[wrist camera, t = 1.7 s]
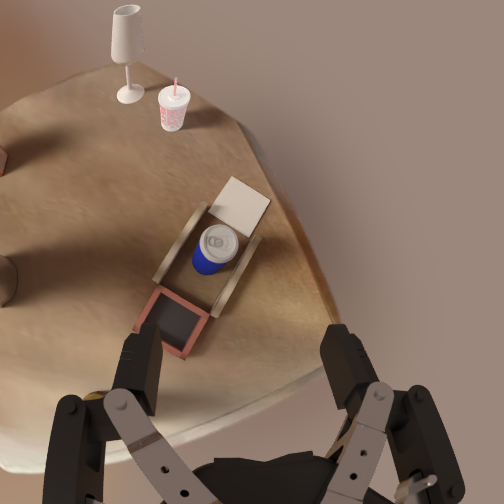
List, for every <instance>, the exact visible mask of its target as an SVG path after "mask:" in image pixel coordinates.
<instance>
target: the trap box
mask: <svg viewBox="0 0 504 504" xmlns="http://www.w3.org/2000/svg"><path fill="white" fill-rule="evenodd" d="M209 316H210V314H208V313H207V312H205V311H203V310H201V309H200V308H198V307H196V306H195V305H193V304H191V303H190V302H188V301H186V300H184V299H183V298H181V297H180V296H178V295H176V294H175V293H173V292H171V291H170V290H168V289H166V288H165V287H163V286H162V285H160V284H158V285H157V287H156V289H155V290H154V292H153V294H152V296H151V297H150V299H149V301H148V303H147V304H146V306H145V308H144V310H143V311H142V313H141V315H140V317H139V318H138V320H137V322H136V324H135V326H134V327H133V329H132V330H133V331H135V332H137V333H138V334H139V331H140V327H141V324H142V323H153V324H158V325H159V329H160V335H161V341H162V347H163V349H165V350H167V351H168V352H170V353H172V354H174V355H175V356H177V357H179V358H181V359H183V360H185V359H186V357H187V355H188V354H189V352H190V350H191V348H192V346H193V345H194V343H195V341H196V339H197V337H198V336H199V334H200V332H201V330H202V329H203V327H204V325H205V323H206V321H207V320H208V318H209Z"/></svg>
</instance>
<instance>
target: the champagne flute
mask: <svg viewBox="0 0 504 504" xmlns="http://www.w3.org/2000/svg"><path fill="white" fill-rule="evenodd" d="M143 53H144V43H143V32H142V21H141V10H140V7H139V6H138V5H125V6H122V7H120V8H118V9H116V10H115V11H114V16H113V29H112V52H111V56H112V59H113V61H114V62H115V63H117V64H119V65H122V66H126V76H127V85H126V86H124V87H122V88H121V89H120V90H119V91H118V93H117V99H118V100H119V101H120V102H121V103H125V104H129V103H134V102H136V101H138V100H140V99H141V98H142V97H143V95H144V92H145V91H144V88H143V87H142V86H140V85H138V84H132V71H131V65H132V64H134V63H136V62H137V61H138V60H139V59H140V58H141V57H142V55H143Z"/></svg>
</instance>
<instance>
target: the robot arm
mask: <svg viewBox="0 0 504 504" xmlns="http://www.w3.org/2000/svg"><path fill="white" fill-rule="evenodd" d="M16 287H17V273H16V269H15V267H14V265H13V263H12V262H11V260H9V259H8V258H6V257H4V256H1V255H0V308H2V307H3V305H4V304H5V303H7V302H8V301H10V300H11V298H12V297H13V296H14V293H15V291H16ZM162 356H163V347H162V341H161V335H160V329H159V325H158V324H153V323H142V324H141V327H140V331H139V334H136V333H131V334H130V335H129V336H128V338H127V339H126V340H125V341H124V345H123V348H122V352H121V356H120V360H119V363H118V367H117V371H116V375H115V379H114V383H113V386H112V389H111V390H110V392H109V393H107V395H106V396H104V397H102V398H99V399H92V400H84V401H83V400H82V399H81V398H80V397H79V396H76V395H66V396H64V397H62V398H61V399H60V400H59V402H58V404H57V408H56V412H55V416H54V421H53V426H52V431H51V436H50V441H49V447H48V453H47V460H46V468H45V477H44V486H43V501H42V504H104V503H103V480H104V462H105V449H106V441H114V440H121V439H122V440H123V441H124V443H125V445H126V446H127V448H128V451H129V452H130V454H131V456H132V457H133V459H134V460H135V462H136V463H137V465H138V466H139V467H140V469H141V470H142V471H143V473H144V474H145V476H146V477H147V478H148V480H149V481H150V483H151V484H152V485H153V487H154V488H155V489H156V490H157V492H158V493H159V494H160V495H161V497H162V498H163V499H164V500H163V501H162V502H161V503H160V504H458V503H459V502H460V501H461V500H462V499H463V497H464V494H465V485H464V481H463V478H462V475H461V472H460V469H459V466H458V463H457V460H456V457H455V454H454V451H453V449H452V446H451V443H450V440H449V438H448V435H447V432H446V430H445V427H444V425H443V422H442V420H441V417H440V415H439V413H438V410H437V408H436V405H435V403H434V401H433V399H432V396H431V394H430V392H429V391H428V389H426V388H425V387H424V386H421V385H414V386H412V387H411V388H410V389H409V390H408V391H398V390H392V388H391V387H390V386H389V385H387V384H386V383H383V382H380V381H379V379H378V377H377V375H376V372H375V370H374V368H373V366H372V364H371V362H370V359H369V357H367V353H366V351H365V350H364V347H363V344H362V343H361V340H360V339H359V338H358V337H357V336H356V335H355V334H350V333H349V331H348V329H347V327H346V325H345V324H332V325H329V326H328V328H327V330H326V333H325V335H324V338H323V340H322V343H321V346H320V356H321V359H322V362H323V365H324V368H325V371H326V374H327V377H328V380H329V383H330V386H331V389H332V392H333V396H334V399H335V402H336V405H337V408H338V410H340V409H345V408H346V411H347V413H348V414H347V416H346V418H345V420H344V423H343V425H342V427H341V429H340V431H339V433H338V435H337V438H336V440H335V442H334V444H333V445H332V447H331V448H330V450H329V451H328V453H327V454H326V456H325V457H324V458H323V457H320V456H313V452H312V451H307V452H300V453H292V454H288V455H285V456H282V457H279V458H276V459H273V460H270V461H266V462H261V461H255V460H249V459H243V458H214V462H213V463H209V464H206V465H203V466H200V467H198V468H196V469H195V470H193V471H191V470H190V469H189V468H188V467H187V466H186V464H185V463H184V462H183V461H182V460H181V458H180V457H179V456H178V455H177V453H176V452H175V451H174V450H173V448H172V447H171V446H170V445H169V443H168V442H167V441H166V439H165V438H164V437H163V436H162V435H161V434H160V433H159V432H158V431H157V429H156V428H155V426H154V425H153V424H152V422H151V421H150V419H149V418H148V416H155V409H156V400H157V392H158V384H159V377H160V370H161V363H162ZM384 430H385V432H384ZM386 438H387V439H388V443H389V446H390V449H391V453H392V456H393V460H394V463H395V467H396V471H397V474H398V478H399V482H400V484H399V485H398V487H397V489H396V493H395V494H394V497H395V499H396V500H395V503H393V502H391V501H390V500H388V499H386V498H385V497H384V496H382V495H380V494H379V493H377V492H376V491H374V490H373V489H371V488H370V487H368V486H369V484H370V481H371V479H372V476H373V474H374V472H375V469H376V466H377V464H378V461H379V458H380V456H381V453H382V450H383V447H384V444H385V441H386Z"/></svg>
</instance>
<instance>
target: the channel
mask: <svg viewBox="0 0 504 504" xmlns="http://www.w3.org/2000/svg"><path fill="white" fill-rule="evenodd" d="M207 206H208V204H207V203H205V202H204V201H202V202H201V203H200V205H199V206H198V208H197V209H196V211H195V212H194V214H193V215H192V217H191V218H190V220H189V221H188V223H187V224H186V226H185V227H184V229H183V230H182V232H181V233H180V235H179V237H178V238H177V240H176V241H175V243H174V244H173V246H172V248H171V249H170V251H169V252H168V254H167V256H166V257H165V259H164V260H163V262H162V264H161V265H160V267H159V268H158V270H157V272H156V273H155V275H154V277H153V278H152V280H153V281H154V282H156V283H157V284H160V283H161V281H162V279H163V278H164V276H165V274H166V273H167V271H168V269H169V268H170V266H171V264H172V263H173V261H174V260H175V258H176V256H177V255H178V253H179V251H180V250H181V248H182V247H183V245H184V243H185V242H186V240H187V239H188V237H189V236H190V234H191V232H192V231H193V229H194V228H195V226H196V225H197V223H198V222H199V220H200V219H201V217H202V216H203V214H204V213H205V211H206V208H207ZM261 239H262V238H261V237H260V236H258V235H257V234H256V235H255V236H254V237H253V238H252V239H251V240H250V242H249V243H248V245H247V247H246V249H245V250H244V252H243V254H242V256H241V257H240V259H239V261H238V263H237V264H236V266H235V268H234V270H233V272H232V273H231V275H230V277H229V279H228V280H227V282H226V284H225V286H224V287H223V289H222V291H221V293H220V295H219V296H218V298H217V300H216V302H215V303H214V305H213V307H212V309H211V311H210V312H209V314H210V315H211V316H212V317H214V318H218V316H219V315H220V313H221V311H222V309H223V307H224V306H225V304H226V302H227V300H228V298H229V297H230V295H231V293H232V291H233V289H234V288H235V286H236V284H237V282H238V280H239V279H240V277H241V275H242V273H243V271H244V270H245V268H246V266H247V264H248V262H249V261H250V259H251V257H252V255H253V253H254V252H255V250H256V248H257V246H258V244H259V243H260V241H261Z"/></svg>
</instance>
